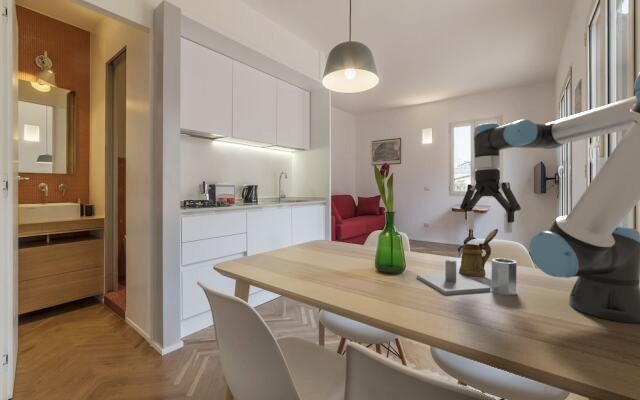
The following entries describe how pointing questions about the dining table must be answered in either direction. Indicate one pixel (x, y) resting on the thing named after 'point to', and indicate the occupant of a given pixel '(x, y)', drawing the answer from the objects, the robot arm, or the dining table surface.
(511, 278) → the sleeve
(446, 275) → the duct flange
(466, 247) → the wooden mug
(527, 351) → the dining table surface
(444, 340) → the dining table surface
